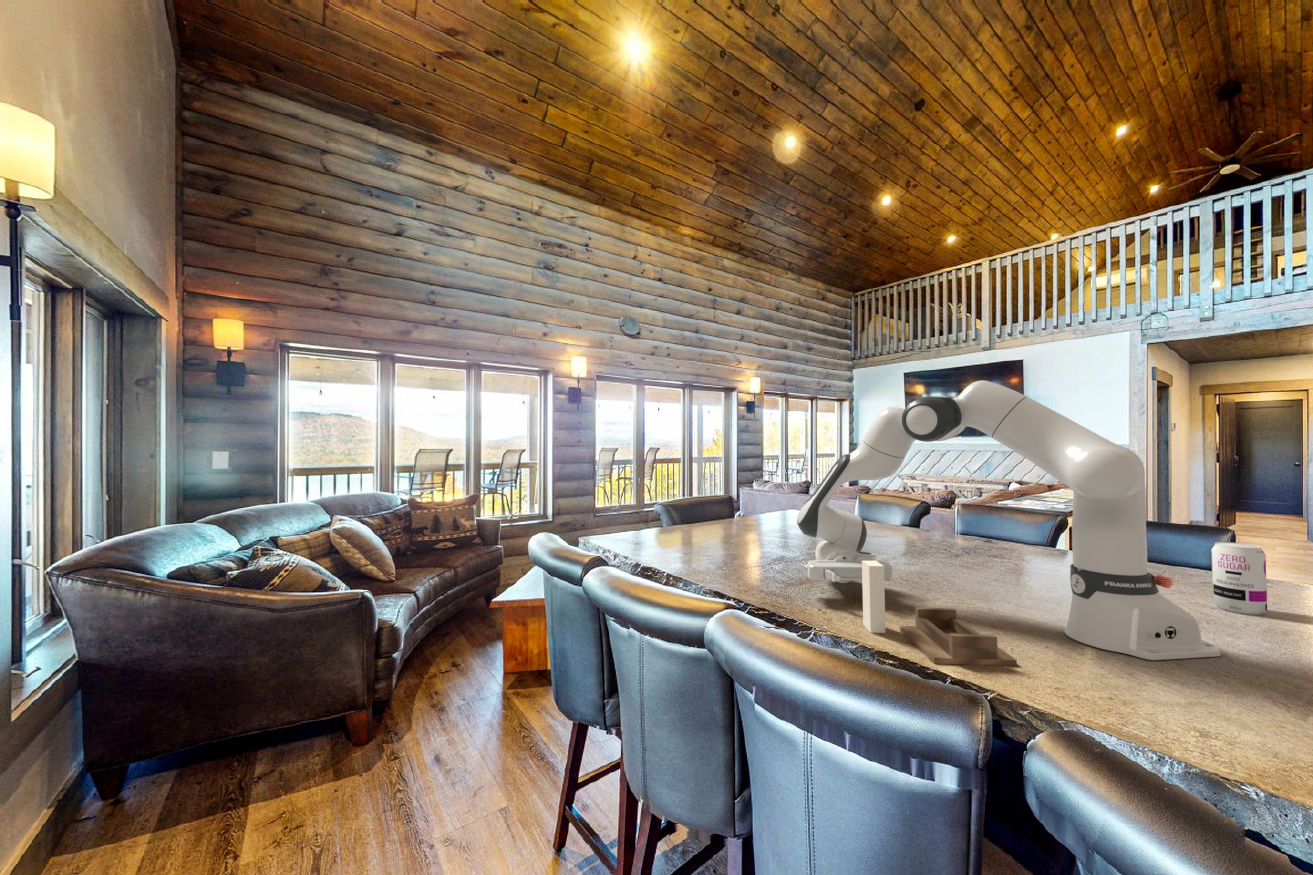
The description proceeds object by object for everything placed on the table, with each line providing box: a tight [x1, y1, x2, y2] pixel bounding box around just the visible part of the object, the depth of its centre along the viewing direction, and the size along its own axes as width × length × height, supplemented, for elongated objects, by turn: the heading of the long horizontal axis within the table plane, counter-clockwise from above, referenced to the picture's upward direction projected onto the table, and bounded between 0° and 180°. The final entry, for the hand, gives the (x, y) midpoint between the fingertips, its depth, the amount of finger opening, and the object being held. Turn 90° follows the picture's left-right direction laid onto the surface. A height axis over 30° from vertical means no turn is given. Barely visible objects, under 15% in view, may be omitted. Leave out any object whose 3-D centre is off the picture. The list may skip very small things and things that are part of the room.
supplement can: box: [1210, 541, 1268, 616], centre depth 116 cm, size 8×8×15 cm
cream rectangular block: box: [861, 561, 886, 634], centre depth 108 cm, size 3×5×14 cm, turn 174°
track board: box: [899, 606, 1018, 667], centre depth 98 cm, size 14×16×5 cm
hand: (857, 578), depth 120 cm, fingers open, 8 cm apart
